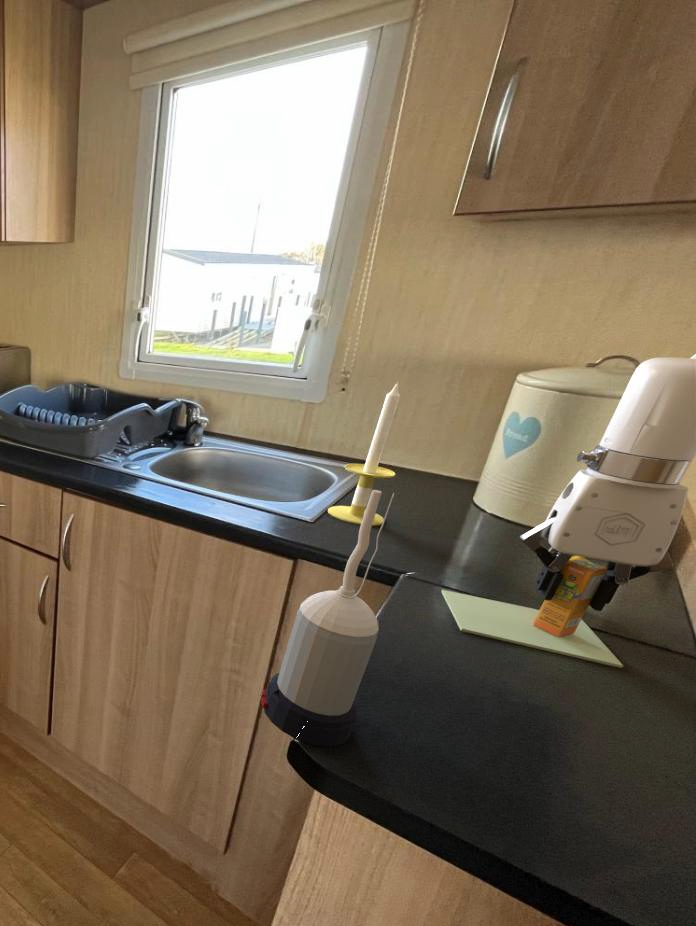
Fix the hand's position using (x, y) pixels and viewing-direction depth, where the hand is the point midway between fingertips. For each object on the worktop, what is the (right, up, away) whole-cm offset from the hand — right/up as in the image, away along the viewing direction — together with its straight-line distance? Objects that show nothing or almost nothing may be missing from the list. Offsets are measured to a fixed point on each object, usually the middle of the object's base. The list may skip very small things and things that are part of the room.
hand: (567, 599), depth 72 cm
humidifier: (-43, -10, -15) cm, 46 cm away
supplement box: (0, -5, +2) cm, 5 cm away
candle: (-2, +11, +40) cm, 42 cm away
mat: (-3, -4, +3) cm, 6 cm away
